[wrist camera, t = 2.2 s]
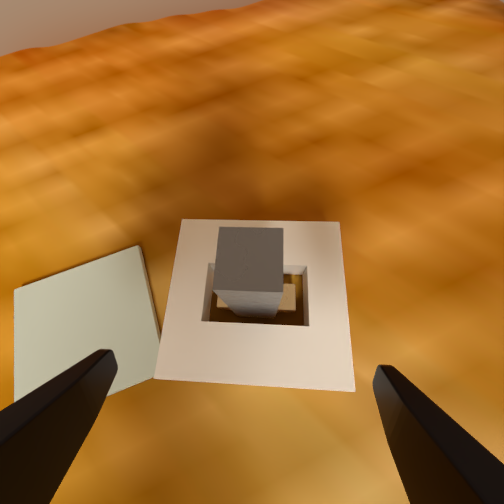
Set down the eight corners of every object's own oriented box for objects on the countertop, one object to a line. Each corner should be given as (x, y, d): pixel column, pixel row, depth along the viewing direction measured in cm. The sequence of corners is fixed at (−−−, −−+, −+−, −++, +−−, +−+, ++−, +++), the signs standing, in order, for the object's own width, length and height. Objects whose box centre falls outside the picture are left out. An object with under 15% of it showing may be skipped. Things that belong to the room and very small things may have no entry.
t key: (293, 319, 19) (320, 293, 10) (219, 315, 19) (177, 288, 10) (293, 282, 20) (316, 228, 11) (223, 280, 21) (187, 226, 11)
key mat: (168, 370, 18) (165, 371, 18) (22, 431, 17) (14, 434, 17) (140, 247, 22) (137, 245, 22) (20, 291, 21) (14, 289, 21)
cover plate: (343, 385, 17) (355, 392, 15) (168, 374, 18) (153, 378, 16) (331, 235, 22) (339, 222, 19) (190, 232, 22) (181, 219, 20)
